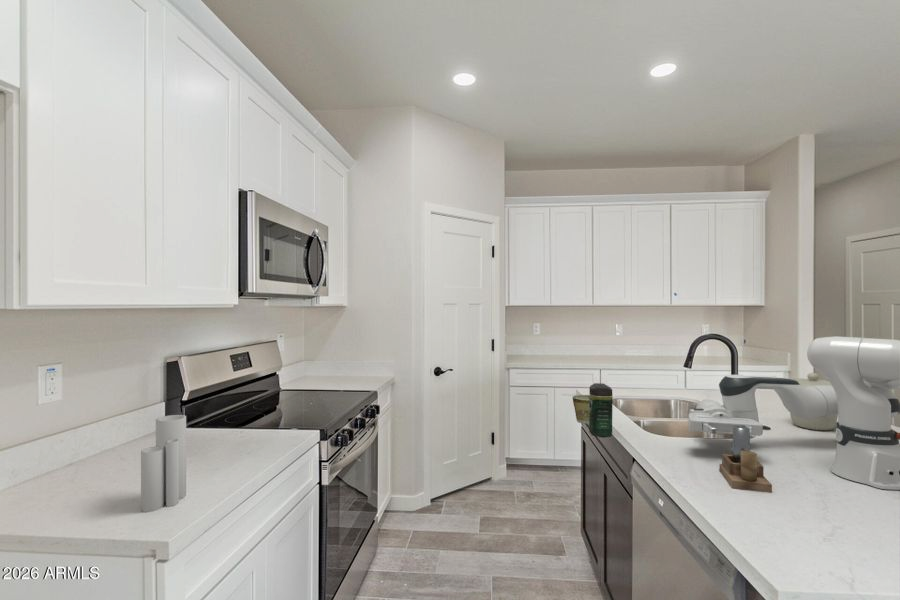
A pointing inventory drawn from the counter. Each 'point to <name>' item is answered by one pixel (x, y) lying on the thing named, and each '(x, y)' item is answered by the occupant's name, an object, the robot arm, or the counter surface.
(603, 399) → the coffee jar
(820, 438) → the counter surface
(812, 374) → the beige round tub
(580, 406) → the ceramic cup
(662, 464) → the counter surface
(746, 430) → the grey metal pin
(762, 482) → the walnut housing
